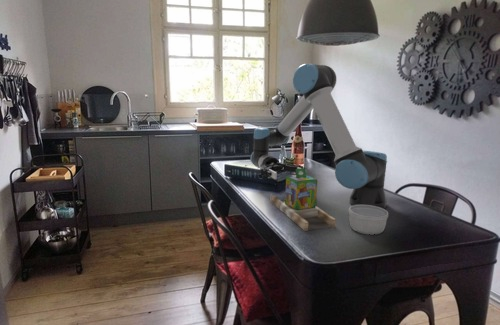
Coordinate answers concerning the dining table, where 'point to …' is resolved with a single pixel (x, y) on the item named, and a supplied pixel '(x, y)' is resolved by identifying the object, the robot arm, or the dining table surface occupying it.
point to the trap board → (306, 216)
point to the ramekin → (367, 219)
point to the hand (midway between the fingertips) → (291, 174)
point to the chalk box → (300, 190)
